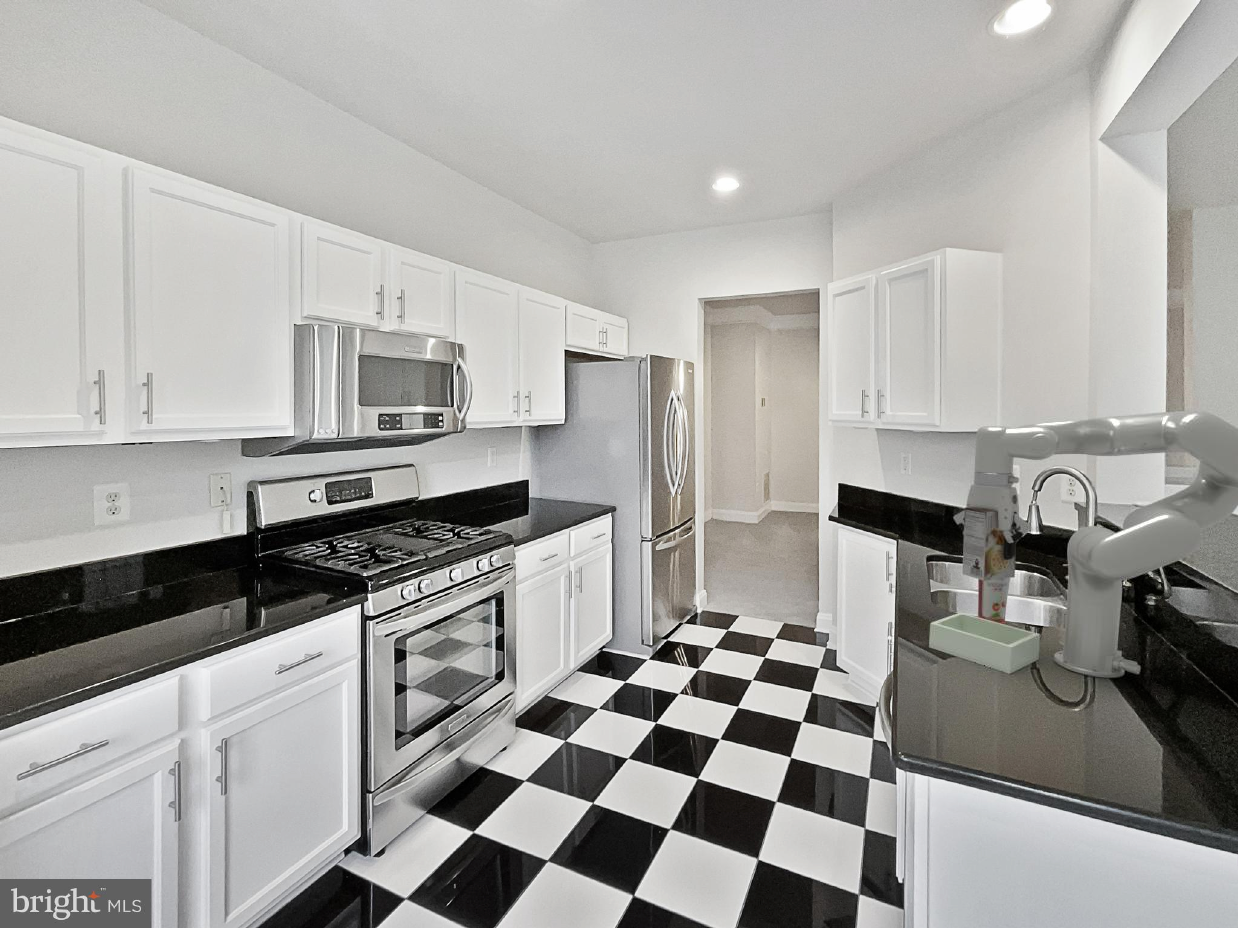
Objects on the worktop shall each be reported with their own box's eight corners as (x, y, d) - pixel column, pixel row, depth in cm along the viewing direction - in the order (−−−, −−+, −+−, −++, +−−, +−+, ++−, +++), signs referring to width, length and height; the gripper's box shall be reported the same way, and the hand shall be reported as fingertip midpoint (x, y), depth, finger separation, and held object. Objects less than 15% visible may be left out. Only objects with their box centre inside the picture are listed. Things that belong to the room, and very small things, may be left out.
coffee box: (991, 570, 149) (995, 504, 147) (1015, 577, 143) (1019, 509, 141) (960, 574, 146) (964, 506, 145) (984, 581, 140) (987, 511, 139)
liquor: (1001, 627, 163) (1008, 522, 161) (1011, 637, 156) (1018, 528, 154) (970, 625, 165) (976, 521, 163) (979, 634, 158) (985, 526, 155)
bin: (1038, 659, 143) (1040, 634, 142) (1009, 673, 135) (1011, 647, 135) (959, 635, 158) (960, 612, 157) (929, 647, 150) (930, 623, 149)
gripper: (1042, 482, 137) (1038, 560, 139) (962, 475, 152) (959, 546, 153) (1027, 485, 133) (1022, 565, 135) (946, 477, 148) (943, 550, 149)
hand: (988, 555), depth 144 cm, fingers closed on coffee box, 7 cm apart
